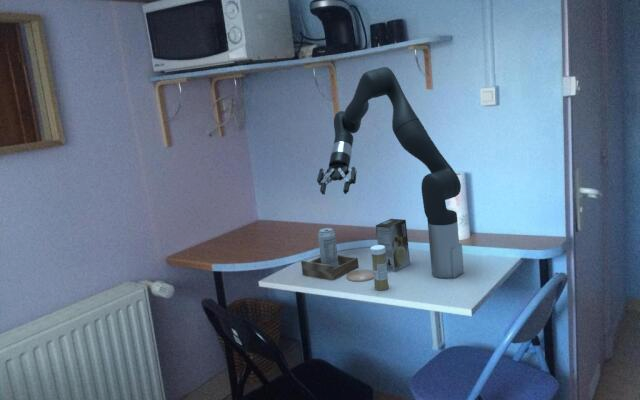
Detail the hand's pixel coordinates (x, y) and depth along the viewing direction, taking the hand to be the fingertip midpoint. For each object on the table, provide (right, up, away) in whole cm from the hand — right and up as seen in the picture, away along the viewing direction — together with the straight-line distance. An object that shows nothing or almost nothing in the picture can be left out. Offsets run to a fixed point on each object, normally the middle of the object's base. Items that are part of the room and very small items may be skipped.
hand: (333, 193), depth 200 cm
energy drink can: (-1, -28, -5) cm, 28 cm away
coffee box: (+21, -26, -9) cm, 34 cm away
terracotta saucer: (+9, -28, -14) cm, 33 cm away
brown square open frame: (-1, -27, -5) cm, 28 cm away
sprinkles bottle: (+14, -30, -27) cm, 43 cm away
